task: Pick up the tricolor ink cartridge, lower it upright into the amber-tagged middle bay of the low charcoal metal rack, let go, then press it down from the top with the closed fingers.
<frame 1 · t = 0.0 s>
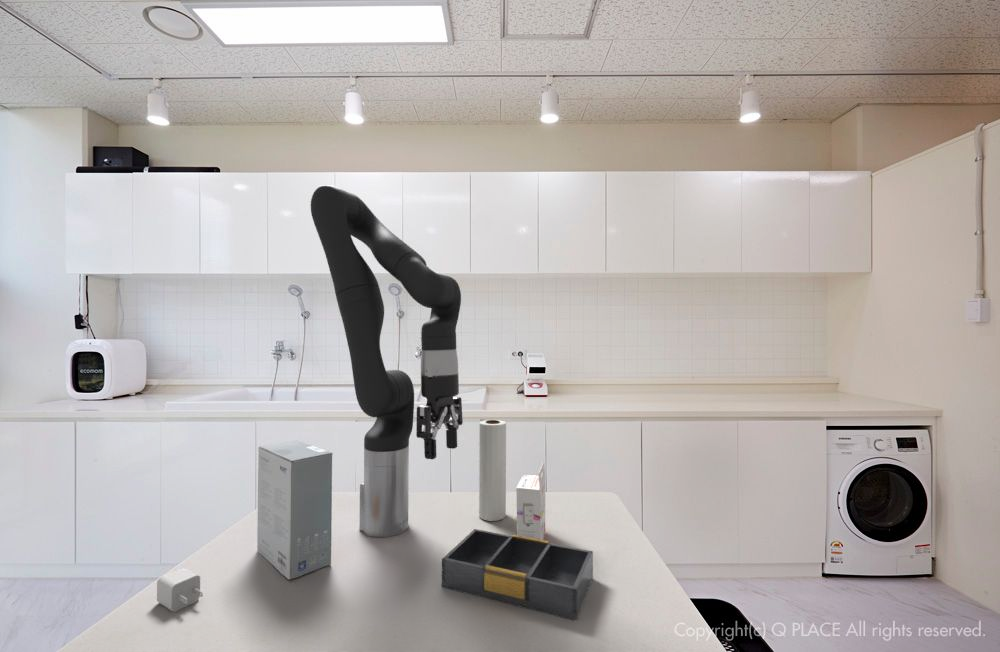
hand: (441, 453, 91), 17 cm above the table, tool pointing down, fingers open, 8 cm apart
usb wall charger: (182, 605, 68), on the table
paper towel roll: (492, 516, 102), on the table
hard drive box: (292, 559, 83), on the table
rack: (518, 582, 75), on the table
ink cartridge box: (531, 540, 90), on the table
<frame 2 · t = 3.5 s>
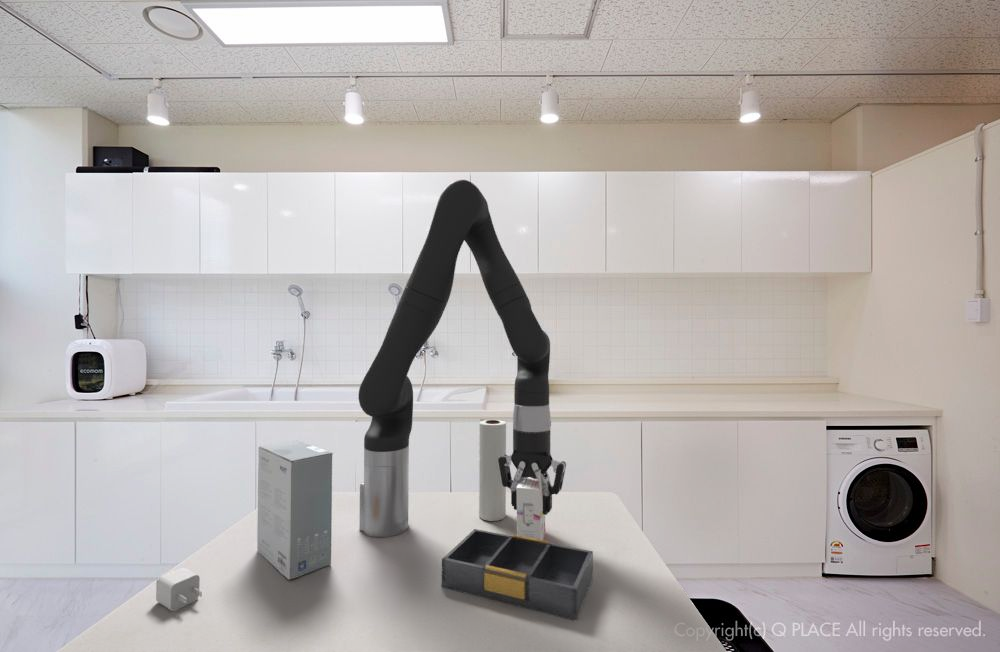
hand: (531, 510, 90), 6 cm above the table, tool pointing down, fingers closed on ink cartridge box, 5 cm apart
ink cartridge box: (531, 540, 90), on the table, touching gripper
everything else where it was.
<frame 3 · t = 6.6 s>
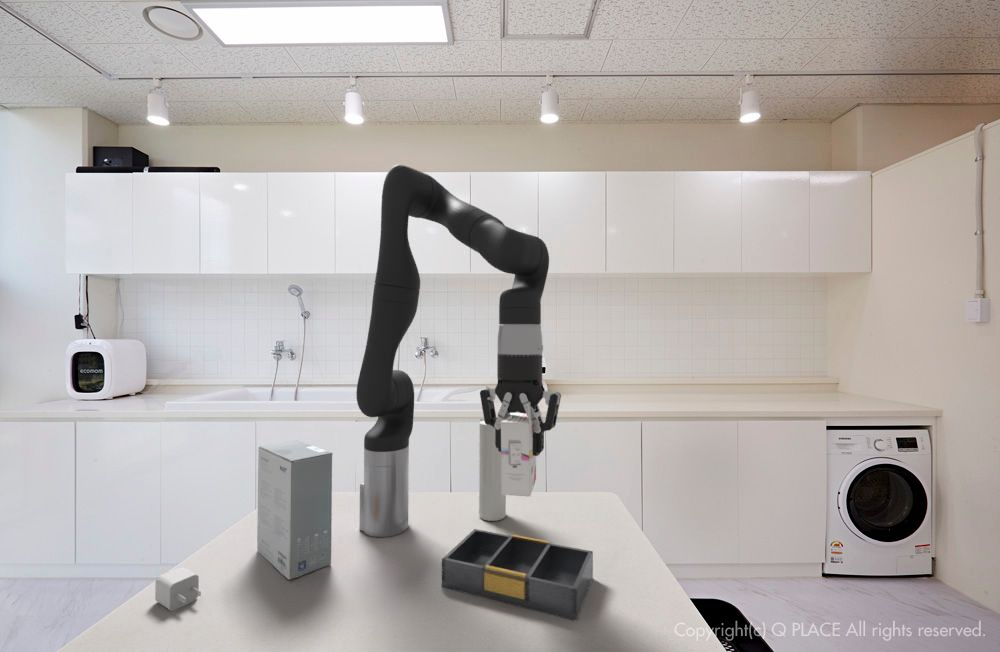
hand: (519, 452, 75), 21 cm above the table, tool pointing down, fingers closed on ink cartridge box, 5 cm apart
ink cartridge box: (519, 488, 75), point 15 cm above the table, touching gripper
everything else where it was.
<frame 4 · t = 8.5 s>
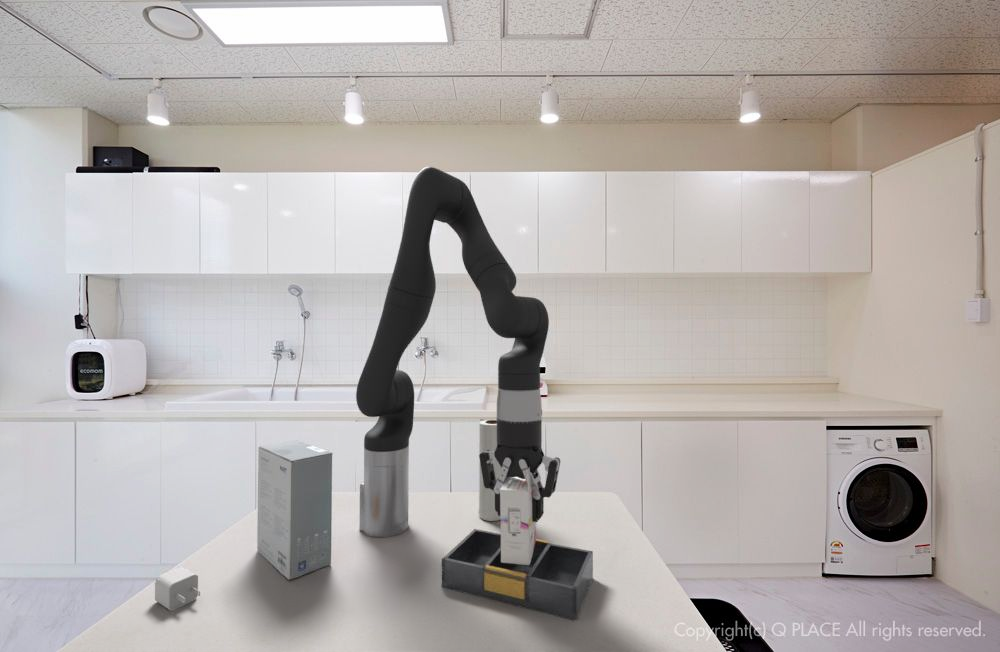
hand: (519, 516, 75), 11 cm above the table, tool pointing down, fingers closed on ink cartridge box, 5 cm apart
ink cartridge box: (518, 553, 75), point 5 cm above the table, touching gripper
everything else where it was.
when the fingers open (8 cm above the table, at t = 10.0 s): ink cartridge box drops 1 cm, resting on rack.
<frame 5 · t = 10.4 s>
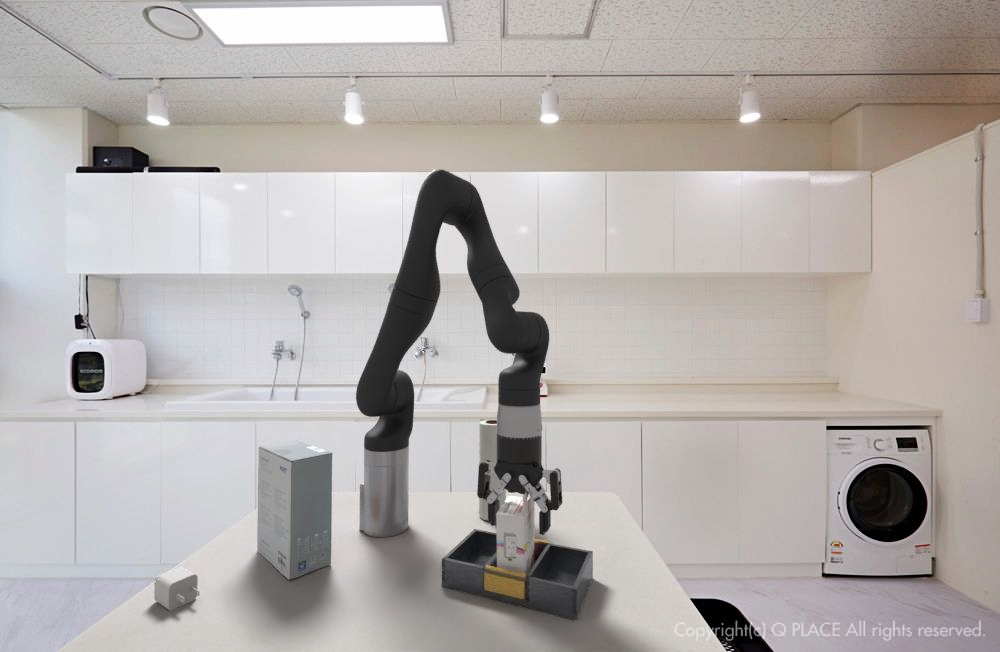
hand: (518, 528, 75), 9 cm above the table, tool pointing down, fingers open, 8 cm apart
ink cartridge box: (516, 576, 75), point 1 cm above the table, touching rack
everything else where it was.
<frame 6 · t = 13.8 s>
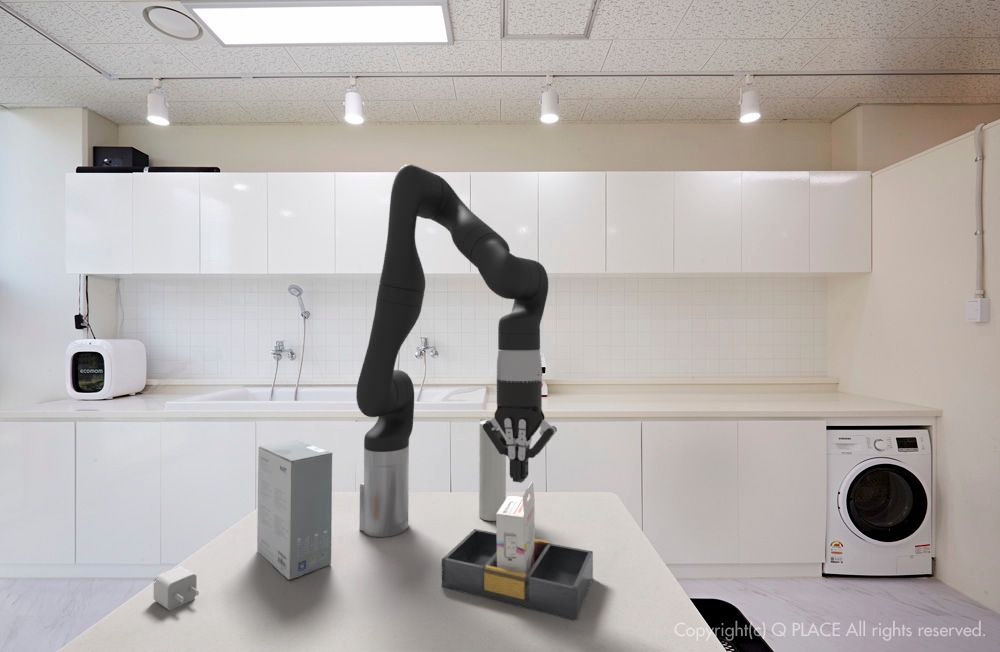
hand: (519, 480, 75), 17 cm above the table, tool pointing down, fingers closed
nothing on the table moved.
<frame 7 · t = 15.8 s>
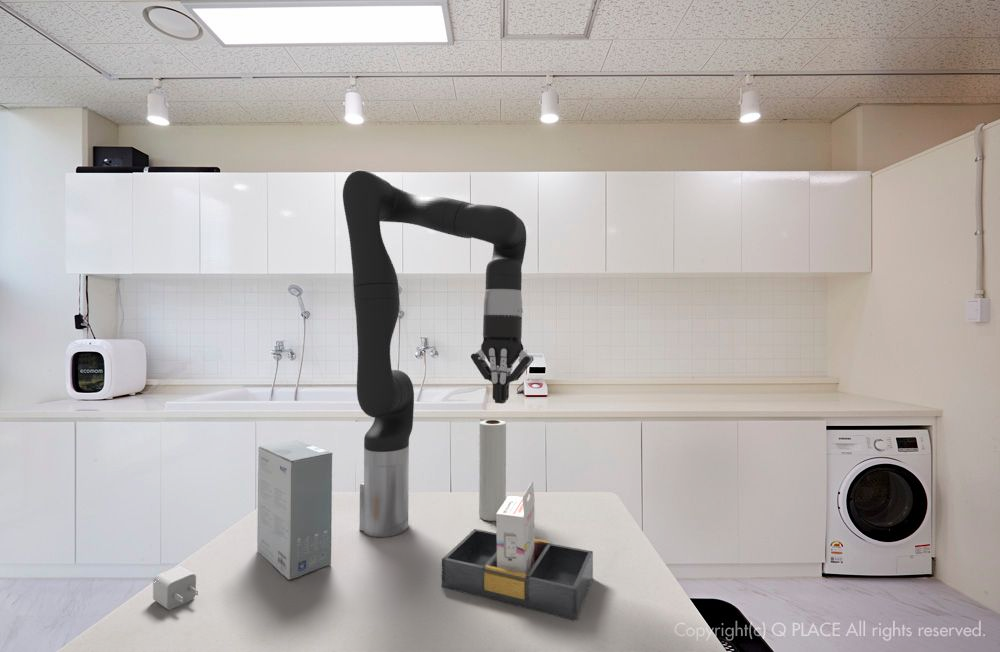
hand: (500, 402, 88), 28 cm above the table, tool pointing down, fingers closed
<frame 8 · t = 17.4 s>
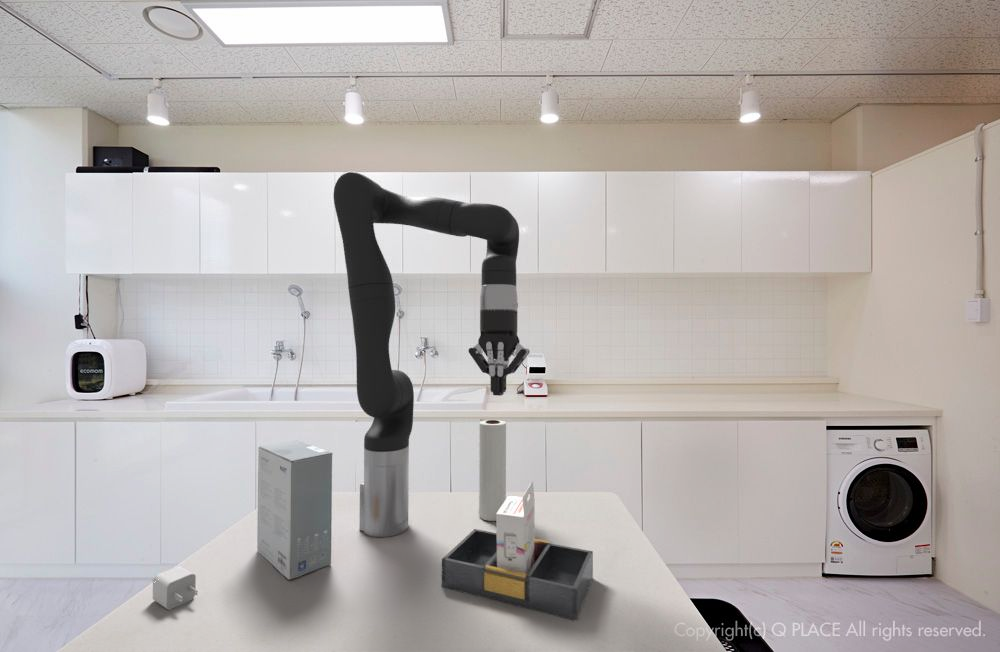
hand: (498, 394, 90), 29 cm above the table, tool pointing down, fingers closed
at the end: ink cartridge box 0.5 cm off-centre on the rack, point 0.8 cm above the rack's base; ink cartridge box tilted 0°; the gripper is holding nothing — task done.
